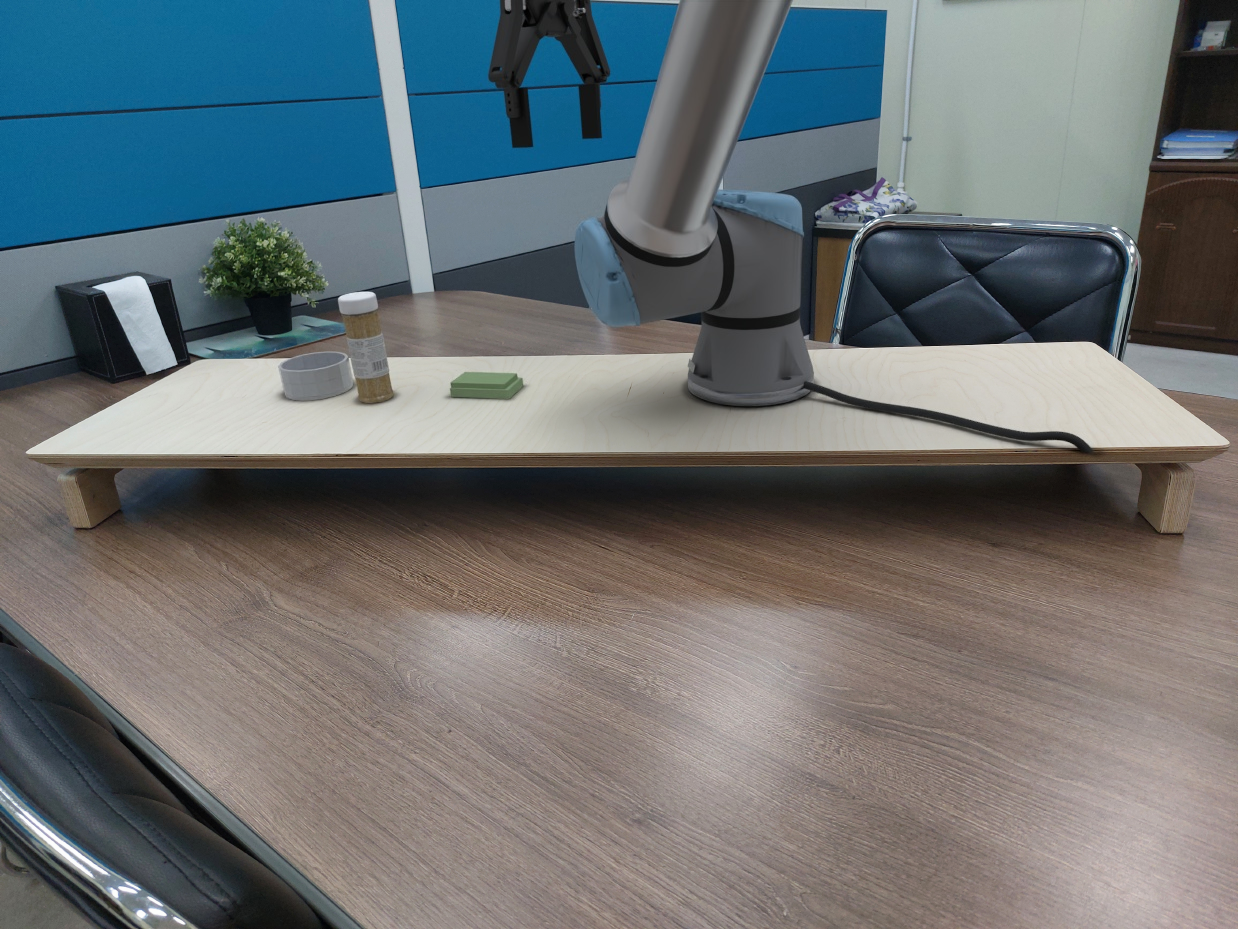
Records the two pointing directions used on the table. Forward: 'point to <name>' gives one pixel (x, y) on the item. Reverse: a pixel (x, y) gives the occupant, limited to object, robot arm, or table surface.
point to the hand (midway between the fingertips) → (559, 143)
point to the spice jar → (366, 346)
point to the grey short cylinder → (316, 375)
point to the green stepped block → (486, 385)
